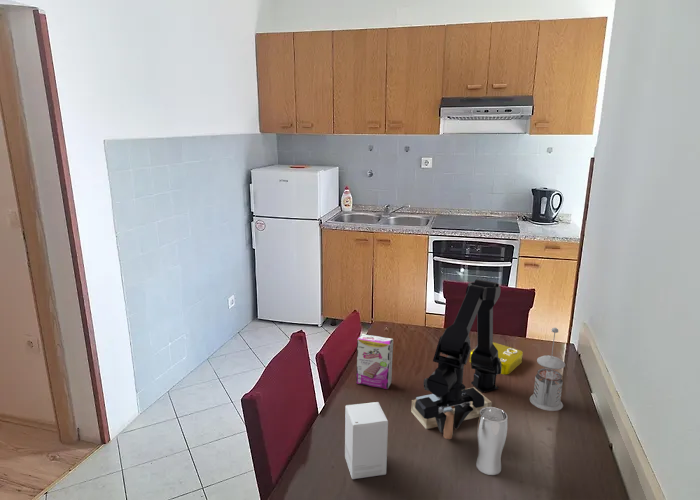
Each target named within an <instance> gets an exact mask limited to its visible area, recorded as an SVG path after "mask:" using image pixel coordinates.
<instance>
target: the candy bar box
mask: <svg viewBox="0 0 700 500" xmlns="http://www.w3.org/2000/svg"><path fill="white" fill-rule="evenodd" d="M356 340H357V344H356V376H355V378H356V379H355V380H356V384H359V385H363V386H369V387H374V388H377V389H378V388H379V389H382V390H383V389H385V390H389V388H390V386H391V384H392V379H393V378H392V374H393V352H394V350H393V349H394V339H393V338H389V337H384V336H378V335H373V334H371V335H370V334H366V333H360V335H359V337H357V339H356Z"/></svg>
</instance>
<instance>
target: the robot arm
mask: <svg viewBox="0 0 700 500" xmlns="http://www.w3.org/2000/svg"><path fill="white" fill-rule="evenodd" d="M465 290H466V291H465V296H464V299H463V300H462V303H461V306H460V307H459V310H458V313H457V315H456V317H455V319H454V322H453V323H452V324H451V325H450V326H448V327H446V328H445V329H444V332H443V333H442V335H441V336H440V337H439V338H438V341H437V342H438V343H437V346H436V349H435V353H434V356H433V359H432V362H434V363H436V364H437V366H438V367H436V368H435V370H434V371H433V372H432V374H430V376H429V377H427V378H426V377H425V378H424V379H423V389H424V390H425V391H428V392H430V393H431V394H434V395H435V396H436V397H439V398H440V400H437V401H435V402H433V401H432V400H431V399H430V398H429V397H426V398H422V399H418V400H416V402H415V408H416V410H417V411H418V412H419V413H420V414H421V415H422V416H423V417H424V418H425V419H430V418H434V417H435V419H436V422H437V425H438V426H437V429H438V431H439V432H440V433H441V434H442V433H443V434H444V426H445V421H446V415H445V414H444V413H443V412H444V408H447V407H452V406H454V407H455V413H454V423H453V429H455V430H458V429H459V427H460V426H461V425H462V423H463V422H464V421H465V420H464V419H465V418H466V417H467V415H468V414H469V413H470V412H471V411H473V408H472V407H471V406H470V401H472V402H473V404H472V405H473V406H474V407H475V408H478V407H483V406H484V402H485V399H484V397H483V396H482V395H481V394H482V393H486V392H492V391H496V390H499V387H498V386H497V385H496V383H497V377H498V375H502V374H501V365H502V363H501V361H500V358H498V350H497V349H496V347H495V346H494V345H493V342H494V340H493V339H494V337H493V336H494V306H495V304H496V303H497V302H498V299H500V295H501V292H502V291H501V287H500V284H499V283H497V282H495V281H490V280H484V279H478V278H477V279H475V280H474V281H471V282H468V284H467V287H466V289H465ZM476 319H477V322H476V323H477V324H476V328H477V329H476V330H477V333H476V334H477V342H476V343H477V344H476V347H475V348H473V349H474V351H473V353H472V355H471V363H470V367H471V369H472V370H474V373H473V380H471V382H470V383H471V385H472V386H473V387H474V388H475V389H477V390H478V391H479V392H480V393H481V394H480V393H479V392H478V391H476V390H475V389H474V388H473V387H469V388H470V389H468V388H466V385H465V384H464V383H463V382H464V369H465V367H464V366H465V365H466V366H467V363H468V360H469V358H470V352H471V351H472V347H471V339H470V333H471V329H472V328H473V325H474V322H475V320H476ZM441 354H442V355H441ZM443 355H444V356H443ZM445 355H446V356H445ZM464 389H465V390H464Z"/></svg>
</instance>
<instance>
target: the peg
mask: <svg viewBox="0 0 700 500" xmlns="http://www.w3.org/2000/svg"><path fill="white" fill-rule="evenodd" d="M445 415H446V421H445V426H444V430H443V436H442V437H443V438H444V439H446V440H451V439H453V432H454V423H453V420H454V414H453V413H452V412H445Z"/></svg>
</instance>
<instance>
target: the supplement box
mask: <svg viewBox="0 0 700 500" xmlns="http://www.w3.org/2000/svg"><path fill="white" fill-rule="evenodd" d="M344 414H345V418H344V419H345V421H344V422H345V423H344V424H345V425H344V426H345V427H344V458H345V461H346V465H347V468H348V470H349V473H350V474H349V475H350V477H351V479H352V480H356V479H363V478H371V477H376V476H385V475H387V461H388V458H387V457H388V436H389V434H388V433H389V432H388V431H389V420H388V419H387V416H386V414H385V412H384V411H383V409H382V407H381V404H380V402H379V401H376V402H374V401H373V402H367V403H366V402H365V403H355V404H346V405H345V410H344Z"/></svg>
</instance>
